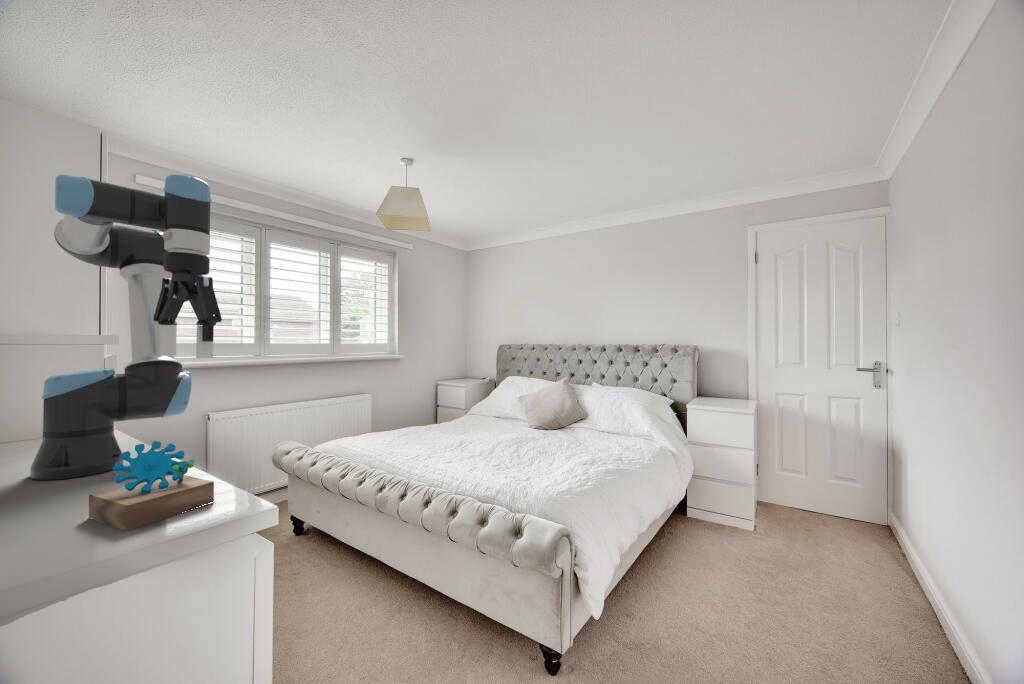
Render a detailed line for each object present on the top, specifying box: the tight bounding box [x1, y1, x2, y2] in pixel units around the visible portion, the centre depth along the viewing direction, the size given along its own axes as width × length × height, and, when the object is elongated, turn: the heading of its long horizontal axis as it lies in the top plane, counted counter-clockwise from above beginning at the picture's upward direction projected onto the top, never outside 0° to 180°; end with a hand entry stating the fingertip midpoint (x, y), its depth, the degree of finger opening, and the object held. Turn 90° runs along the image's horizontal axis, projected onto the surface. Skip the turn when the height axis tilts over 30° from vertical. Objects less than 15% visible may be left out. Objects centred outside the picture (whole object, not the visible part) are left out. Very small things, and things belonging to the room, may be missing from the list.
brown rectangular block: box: [88, 474, 215, 532], centre depth 75 cm, size 12×13×4 cm
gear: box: [112, 440, 195, 493], centre depth 77 cm, size 11×6×10 cm
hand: (185, 357), depth 87 cm, fingers open, 13 cm apart
